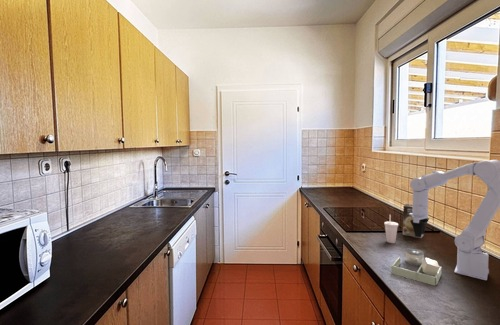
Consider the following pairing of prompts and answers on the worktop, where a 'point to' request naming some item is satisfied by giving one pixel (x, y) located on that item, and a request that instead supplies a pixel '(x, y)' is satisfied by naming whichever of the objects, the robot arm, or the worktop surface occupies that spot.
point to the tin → (414, 257)
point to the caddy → (415, 274)
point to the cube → (430, 266)
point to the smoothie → (391, 230)
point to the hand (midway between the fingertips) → (419, 235)
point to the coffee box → (408, 221)
